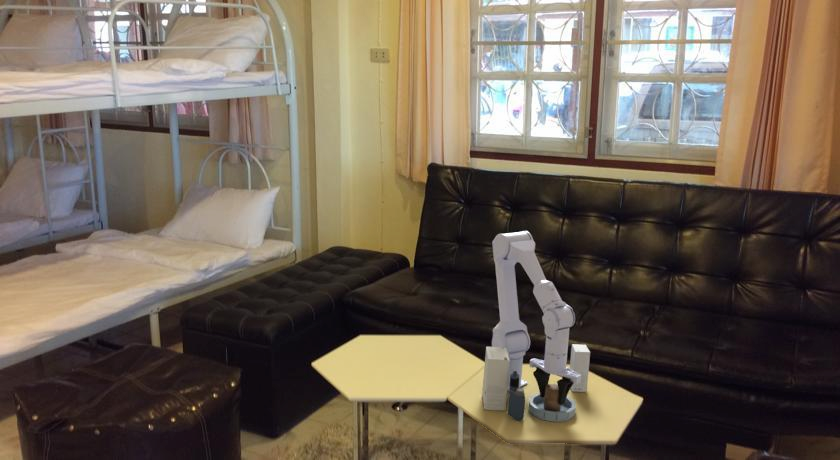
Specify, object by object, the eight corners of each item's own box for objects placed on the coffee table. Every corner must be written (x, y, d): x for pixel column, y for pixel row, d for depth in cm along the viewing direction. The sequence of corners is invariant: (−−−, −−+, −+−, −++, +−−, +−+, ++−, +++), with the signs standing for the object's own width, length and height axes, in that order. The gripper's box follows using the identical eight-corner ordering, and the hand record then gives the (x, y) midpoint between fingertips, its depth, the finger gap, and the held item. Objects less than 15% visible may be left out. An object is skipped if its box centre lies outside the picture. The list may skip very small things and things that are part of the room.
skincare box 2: (587, 392, 200) (590, 352, 197) (571, 392, 200) (575, 352, 197) (582, 383, 205) (586, 344, 203) (568, 382, 206) (571, 343, 203)
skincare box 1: (481, 396, 195) (484, 345, 192) (503, 397, 195) (506, 346, 192) (484, 410, 187) (486, 358, 184) (507, 411, 187) (510, 358, 184)
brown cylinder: (540, 407, 188) (542, 387, 186) (550, 402, 191) (552, 382, 189) (553, 414, 185) (556, 393, 183) (563, 409, 188) (566, 388, 186)
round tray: (519, 410, 188) (520, 401, 187) (545, 396, 196) (546, 388, 196) (558, 426, 180) (559, 418, 179) (583, 411, 188) (584, 403, 188)
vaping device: (513, 411, 187) (516, 369, 184) (525, 420, 183) (528, 377, 180) (505, 413, 186) (508, 370, 183) (517, 422, 181) (519, 378, 179)
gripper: (588, 355, 182) (584, 404, 185) (541, 339, 192) (538, 386, 195) (574, 363, 177) (569, 413, 180) (526, 346, 187) (523, 394, 190)
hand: (552, 399), depth 187 cm, fingers open, 5 cm apart
